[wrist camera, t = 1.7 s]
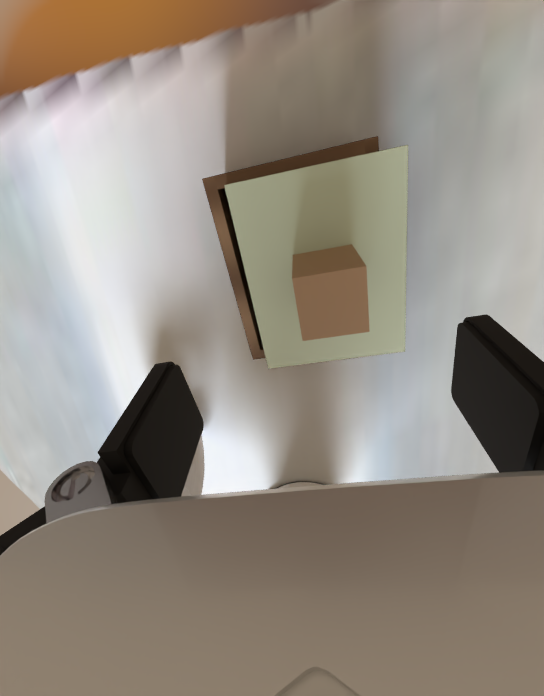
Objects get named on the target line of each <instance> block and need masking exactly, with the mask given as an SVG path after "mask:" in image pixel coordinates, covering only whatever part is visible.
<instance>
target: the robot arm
mask: <svg viewBox="0 0 544 696" xmlns="http://www.w3.org/2000/svg"><path fill="white" fill-rule="evenodd" d="M451 393H452V397H453V400H454V402H455V403H456V405H457V407H458V408H459V410H460V411H461V413H462V414H463V416H464V418H465V419H466V421H467V422H468V424H469V425H470V427H471V429H472V430H473V432H474V433H475V435H476V437H477V438H478V440H479V441H480V443H481V444H482V446H483V448H484V449H485V451H486V452H487V454H488V455H489V457H490V459H491V460H492V462H493V463H494V465H495V466H496V468H497V470H498V471H499V473H484V474H467V475H452V476H438V477H425V478H411V479H397V480H383V481H369V482H356V483H343V484H330V485H321V484H317V483H311V482H296V483H290V484H286V485H283V486H281V487H279V488H277V489H266V490H254V491H242V492H230V493H218V494H206V495H194V496H182V497H181V495H182V492H183V489H184V486H185V483H186V480H187V477H188V474H189V470H190V467H191V464H192V461H193V458H194V455H195V452H196V449H197V446H198V443H199V440H200V437H201V434H202V431H203V419H202V417H201V414H200V412H199V410H198V408H197V405H196V403H195V401H194V398H193V396H192V394H191V391H190V389H189V387H188V385H187V382H186V380H185V378H184V375H183V373H182V371H181V368H180V367H179V366H178V365H175V364H174V363H173V362H166V363H159V364H155V365H154V367H153V368H152V370H151V371H150V373H149V374H148V376H147V377H146V379H145V380H144V382H143V384H142V385H141V387H140V388H139V390H138V391H137V393H136V394H135V396H134V397H133V399H132V400H131V402H130V404H129V405H128V407H127V408H126V410H125V411H124V413H123V414H122V416H121V417H120V419H119V420H118V422H117V424H116V425H115V427H114V428H113V430H112V431H111V433H110V434H109V436H108V437H107V439H106V440H105V442H104V444H103V445H102V447H101V448H100V450H99V451H98V454H99V456H100V459H99V460H98V462H97V463H96V462H93V461H86V462H82V463H79V464H77V465H74V466H72V467H70V468H69V469H67V470H66V471H64V472H63V473H62V474H61V475H60V476H58V477H57V478H56V479H55V480H54V481H53V483H52V484H51V485H50V486H49V488H48V490H47V492H46V495H45V507H43V508H42V509H40V510H39V511H37V512H36V513H34V514H33V515H31V516H30V517H28V518H26V519H25V520H24V521H22V522H20V523H19V524H17V525H16V526H14V527H13V528H11V529H10V530H8V531H7V532H5V533H4V534H2V535H1V536H0V696H544V362H543V361H542V360H540V359H539V358H538V357H537V356H536V355H535V354H533V353H532V352H531V351H530V350H529V349H528V348H526V347H525V346H524V345H523V344H522V343H520V342H519V341H518V340H517V339H516V338H515V337H513V336H512V335H511V334H510V333H509V332H508V331H506V330H505V329H504V328H503V327H502V326H501V325H499V324H498V323H497V322H496V321H495V320H493V319H492V318H491V317H490V316H488V315H480V316H473V317H467V318H465V319H464V321H463V323H459V324H458V328H457V337H456V347H455V357H454V368H453V378H452V388H451Z"/></svg>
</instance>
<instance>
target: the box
mask: <svg viewBox="0 0 544 696" xmlns="http://www.w3.org/2000/svg"><path fill="white" fill-rule="evenodd" d="M377 151H379V146H378V136H377V137H372V138H368V139H364V140H360V141H356V142H352V143H348V144H344V145H340V146H335V147H331V148H327V149H323V150H319V151H315V152H311V153H307V154H302V155H298V156H294V157H290V158H286V159H282V160H278V161H274V162H270V163H265V164H261V165H257V166H253V167H249V168H245V169H241V170H237V171H232V172H228V173H224V174H220V175H216V176H212V177H208V178H204V179H202V180H203V184H204V187H205V191H206V194H207V198H208V201H209V205H210V208H211V212H212V215H213V219H214V223H215V226H216V230H217V233H218V237H219V240H220V244H221V247H222V251H223V254H224V258H225V262H226V265H227V269H228V272H229V276H230V279H231V283H232V286H233V290H234V293H235V297H236V301H237V304H238V308H239V311H240V315H241V318H242V322H243V325H244V329H245V332H246V336H247V340H248V343H249V347H250V350H251V354H252V357H253V360H254V359H261V358H266V357H265V353H264V348H263V344H262V340H261V336H260V332H259V328H258V324H257V319H256V315H255V311H254V307H253V303H252V299H251V294H250V290H249V286H248V282H247V278H246V274H245V270H244V265H243V261H242V257H241V253H240V249H239V245H238V240H237V236H236V232H235V228H234V224H233V220H232V216H231V211H230V207H229V203H228V199H227V195H226V191H225V186H224V185H227V184H231V183H236V182H240V181H245V180H249V179H254V178H258V177H263V176H267V175H272V174H277V173H281V172H286V171H290V170H295V169H299V168H304V167H308V166H313V165H317V164H322V163H327V162H331V161H336V160H340V159H345V158H349V157H354V156H358V155H363V154H368V153H372V152H377Z"/></svg>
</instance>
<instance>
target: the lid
mask: <svg viewBox="0 0 544 696" xmlns="http://www.w3.org/2000/svg"><path fill="white" fill-rule="evenodd" d="M224 186H225V191H226V195H227V199H228V203H229V207H230V211H231V216H232V220H233V224H234V228H235V232H236V236H237V240H238V245H239V249H240V253H241V257H242V261H243V265H244V270H245V274H246V278H247V282H248V286H249V290H250V294H251V299H252V303H253V307H254V311H255V315H256V319H257V324H258V328H259V332H260V336H261V340H262V344H263V348H264V353H265V357H266V361H267V365H268V369H272V368H279V367H287V366H295V365H303V364H311V363H318V362H326V361H334V360H342V359H350V358H358V357H365V356H373V355H381V354H389V353H397V352H405V321H406V253H407V186H408V145H404V146H399V147H395V148H390V149H386V150H381V151H377V152H372V153H368V154H363V155H358V156H354V157H349V158H345V159H340V160H336V161H331V162H327V163H322V164H317V165H313V166H308V167H304V168H299V169H295V170H290V171H286V172H281V173H277V174H272V175H267V176H263V177H258V178H254V179H249V180H245V181H240V182H236V183H231V184H227V185H224Z"/></svg>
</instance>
